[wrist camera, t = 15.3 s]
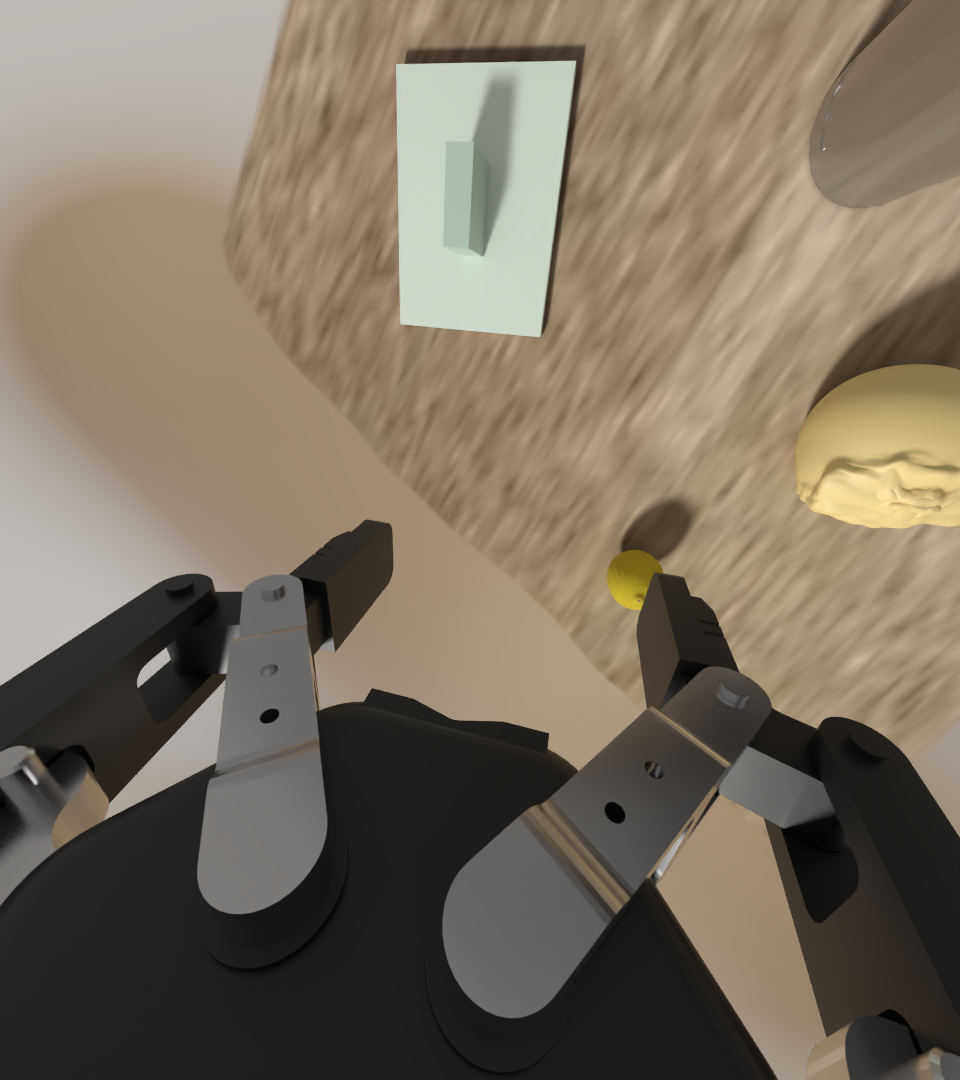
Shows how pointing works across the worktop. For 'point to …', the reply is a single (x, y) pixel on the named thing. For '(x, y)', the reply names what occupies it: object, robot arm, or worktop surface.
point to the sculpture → (885, 449)
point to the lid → (479, 191)
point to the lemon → (631, 577)
